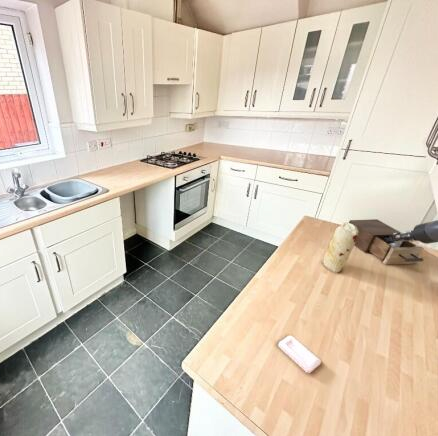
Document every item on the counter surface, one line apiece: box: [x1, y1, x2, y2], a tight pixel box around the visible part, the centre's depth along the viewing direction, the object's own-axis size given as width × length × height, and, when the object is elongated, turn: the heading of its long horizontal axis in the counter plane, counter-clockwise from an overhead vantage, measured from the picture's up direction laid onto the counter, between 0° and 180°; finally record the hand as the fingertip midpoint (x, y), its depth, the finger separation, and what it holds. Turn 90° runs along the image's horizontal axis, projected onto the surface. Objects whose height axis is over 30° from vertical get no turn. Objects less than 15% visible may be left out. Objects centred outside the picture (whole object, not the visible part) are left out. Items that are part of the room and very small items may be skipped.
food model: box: [323, 222, 359, 274], centre depth 96 cm, size 10×7×20 cm
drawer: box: [368, 236, 424, 265], centre depth 102 cm, size 17×12×8 cm
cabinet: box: [348, 218, 402, 254], centre depth 112 cm, size 13×13×9 cm
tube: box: [388, 233, 402, 251], centre depth 102 cm, size 4×4×8 cm
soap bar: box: [278, 335, 322, 374], centre depth 67 cm, size 5×9×2 cm, turn 28°
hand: (390, 240), depth 104 cm, fingers closed on tube, 3 cm apart
